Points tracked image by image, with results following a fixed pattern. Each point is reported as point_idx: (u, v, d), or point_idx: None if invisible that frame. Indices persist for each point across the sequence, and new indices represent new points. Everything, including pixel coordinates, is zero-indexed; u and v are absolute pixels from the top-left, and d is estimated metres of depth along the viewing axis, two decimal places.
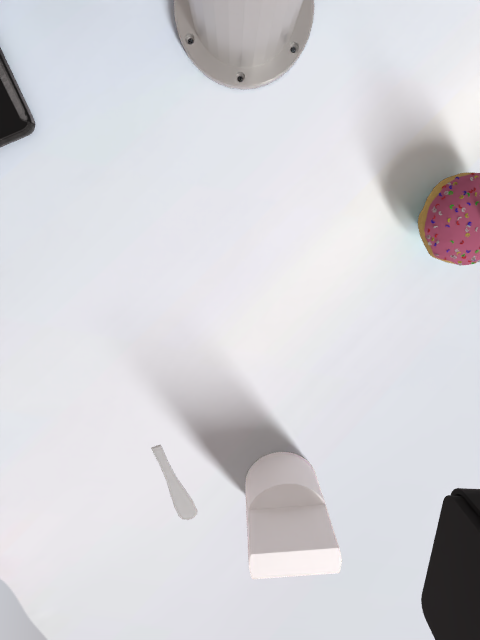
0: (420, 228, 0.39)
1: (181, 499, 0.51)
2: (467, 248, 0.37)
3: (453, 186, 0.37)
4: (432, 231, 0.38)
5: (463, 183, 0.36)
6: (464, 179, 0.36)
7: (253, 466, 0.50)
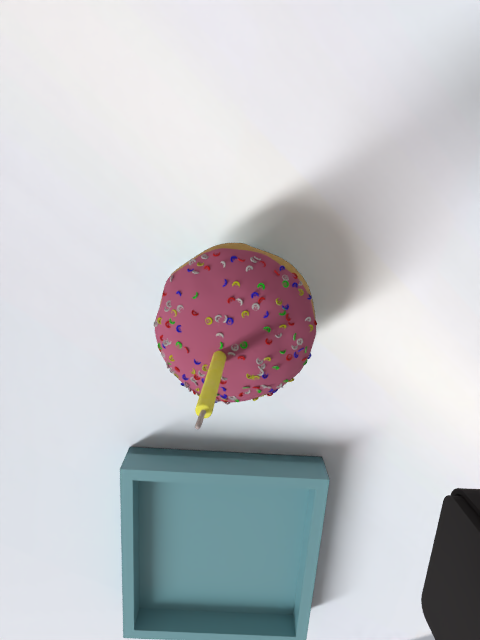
0: (220, 244, 0.20)
1: None
2: (183, 325, 0.19)
3: (296, 289, 0.20)
4: (215, 261, 0.20)
5: (301, 305, 0.20)
6: (307, 308, 0.20)
7: None
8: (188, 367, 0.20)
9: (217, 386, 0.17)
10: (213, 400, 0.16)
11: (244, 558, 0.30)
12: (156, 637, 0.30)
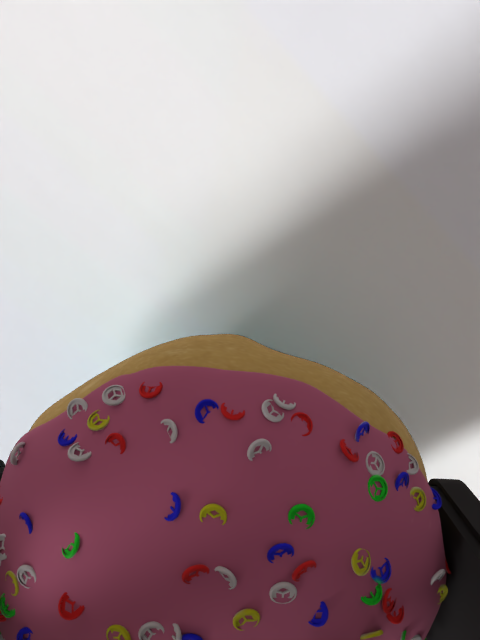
0: (168, 344, 0.07)
1: None
2: (38, 633, 0.06)
3: (406, 494, 0.06)
4: (145, 413, 0.06)
5: (422, 545, 0.06)
6: (433, 539, 0.07)
7: None
8: None
9: None
10: None
11: None
12: None
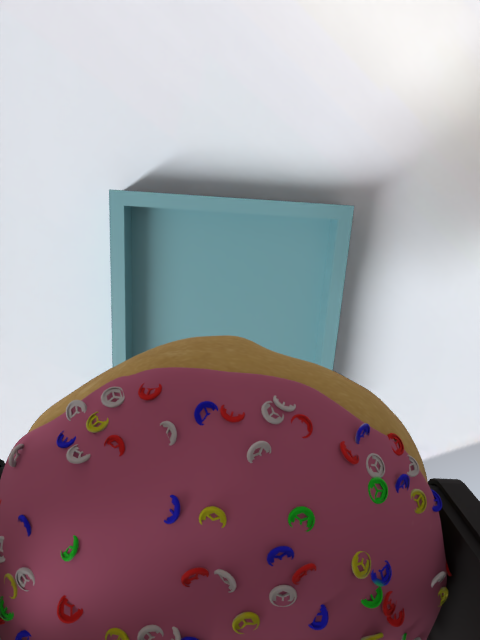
0: (168, 346, 0.07)
1: None
2: (36, 636, 0.06)
3: (406, 496, 0.06)
4: (145, 415, 0.06)
5: (422, 547, 0.06)
6: (434, 542, 0.07)
7: None
8: None
9: None
10: None
11: (253, 336, 0.26)
12: None
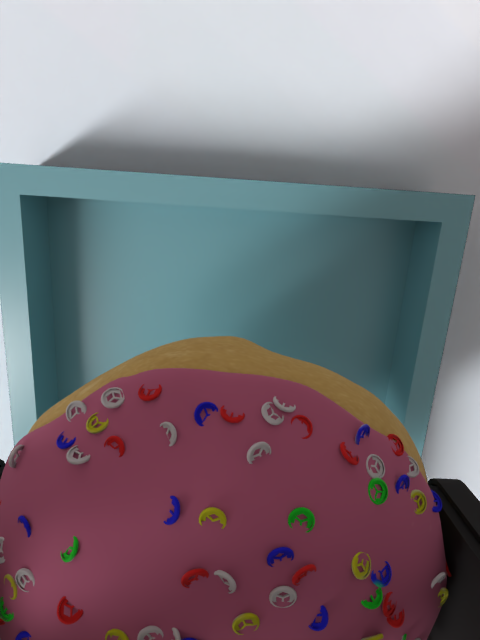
0: (168, 347, 0.07)
1: None
2: (37, 637, 0.06)
3: (406, 497, 0.06)
4: (145, 416, 0.06)
5: (422, 548, 0.06)
6: (434, 543, 0.07)
7: None
8: None
9: None
10: None
11: None
12: None
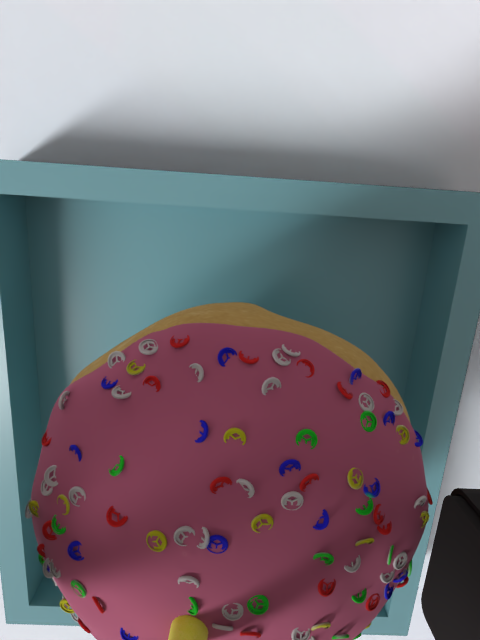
0: (191, 308, 0.08)
1: None
2: (86, 544, 0.07)
3: (392, 429, 0.08)
4: (176, 361, 0.07)
5: (406, 472, 0.08)
6: (416, 471, 0.08)
7: None
8: (107, 637, 0.08)
9: None
10: None
11: None
12: None
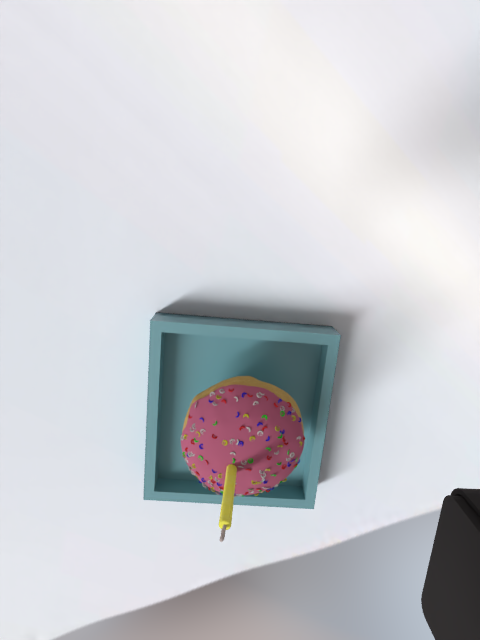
0: (233, 378, 0.27)
1: None
2: (204, 444, 0.26)
3: (290, 416, 0.26)
4: (229, 395, 0.26)
5: (293, 428, 0.26)
6: (298, 429, 0.27)
7: None
8: (206, 474, 0.26)
9: (232, 501, 0.23)
10: (231, 515, 0.22)
11: None
12: (174, 499, 0.32)
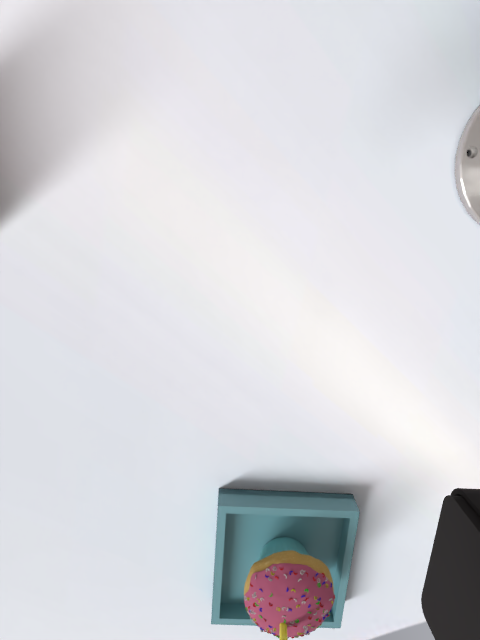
0: (282, 556, 0.37)
1: None
2: (263, 608, 0.36)
3: (324, 585, 0.36)
4: (280, 572, 0.36)
5: (327, 594, 0.36)
6: (330, 592, 0.37)
7: None
8: (264, 626, 0.37)
9: None
10: None
11: None
12: (234, 623, 0.42)
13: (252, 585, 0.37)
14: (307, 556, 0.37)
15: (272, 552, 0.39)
